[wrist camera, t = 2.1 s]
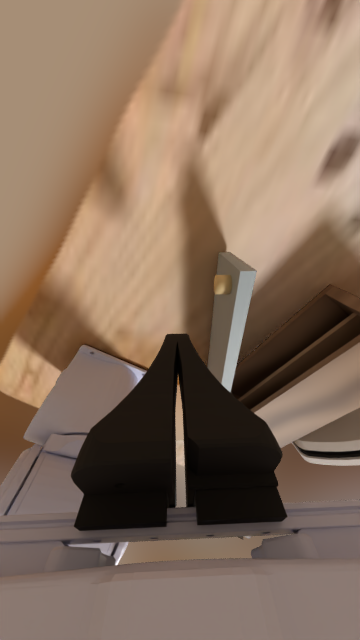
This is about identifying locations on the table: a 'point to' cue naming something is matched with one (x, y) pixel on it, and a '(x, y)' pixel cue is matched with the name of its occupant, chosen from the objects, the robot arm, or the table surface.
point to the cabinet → (305, 368)
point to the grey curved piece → (333, 442)
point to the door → (229, 315)
